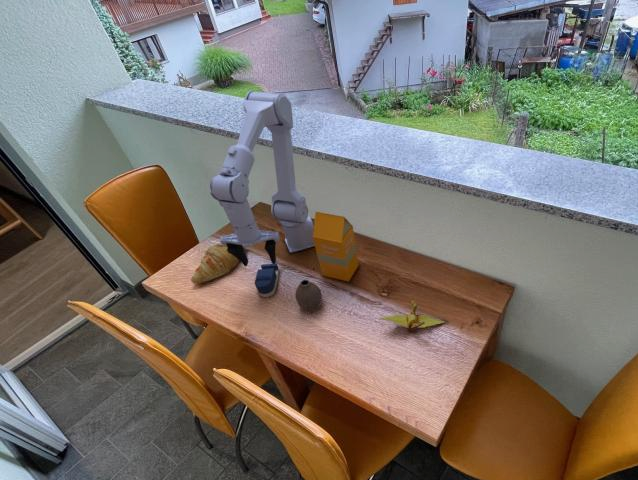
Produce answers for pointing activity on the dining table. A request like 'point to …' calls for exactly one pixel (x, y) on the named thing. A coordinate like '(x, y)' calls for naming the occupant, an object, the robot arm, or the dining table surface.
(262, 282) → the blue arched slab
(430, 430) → the dining table surface
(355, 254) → the orange juice
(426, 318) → the origami crane
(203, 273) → the croissant
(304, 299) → the vase
